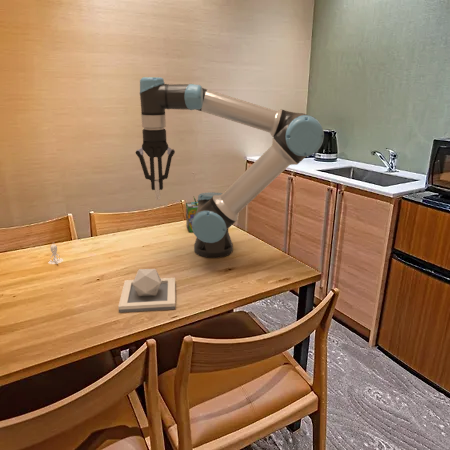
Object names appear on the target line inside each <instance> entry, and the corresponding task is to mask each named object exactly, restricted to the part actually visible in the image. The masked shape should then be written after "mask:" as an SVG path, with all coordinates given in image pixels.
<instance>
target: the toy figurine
mask: <svg viewBox="0 0 450 450" xmlns="http://www.w3.org/2000/svg"><path fill="white" fill-rule="evenodd" d="M50 252H51V256H50V259H49V260H50V261H49V260H48V261H49V262H48V261H47V263H48V264H49V265H57V264H61V263H62V262H64V258H63V257H62V258H61V257H60V254H58V245H56V244H55V243H51V245H50ZM57 256H58V257H57ZM59 257H60V259H59ZM51 258H52V259H53V261H52V260H51ZM57 258H58V259H57Z"/></svg>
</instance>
